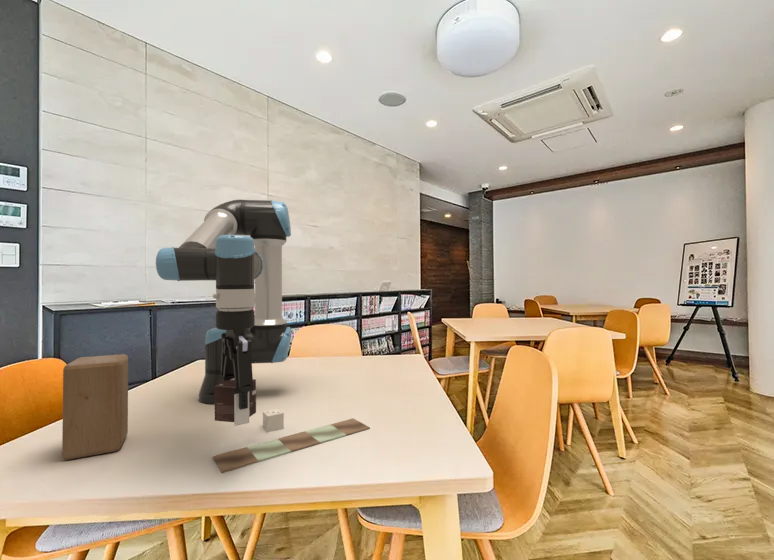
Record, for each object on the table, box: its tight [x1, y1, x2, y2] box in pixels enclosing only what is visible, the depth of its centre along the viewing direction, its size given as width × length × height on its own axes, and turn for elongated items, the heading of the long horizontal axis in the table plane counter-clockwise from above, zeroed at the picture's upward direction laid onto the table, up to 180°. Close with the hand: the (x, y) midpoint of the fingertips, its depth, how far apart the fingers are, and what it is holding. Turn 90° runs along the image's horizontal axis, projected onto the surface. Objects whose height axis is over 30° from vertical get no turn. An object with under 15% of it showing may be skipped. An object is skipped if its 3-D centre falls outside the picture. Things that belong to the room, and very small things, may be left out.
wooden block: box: [61, 353, 129, 460], centre depth 81 cm, size 10×10×20 cm
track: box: [212, 417, 371, 474], centre depth 83 cm, size 8×35×1 cm, turn 128°
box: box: [214, 378, 257, 423], centre depth 75 cm, size 6×6×7 cm
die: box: [262, 408, 285, 433], centre depth 92 cm, size 4×4×4 cm
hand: (235, 416), depth 75 cm, fingers closed on box, 8 cm apart
